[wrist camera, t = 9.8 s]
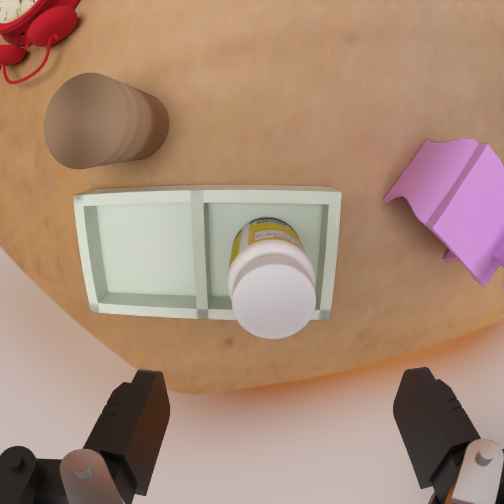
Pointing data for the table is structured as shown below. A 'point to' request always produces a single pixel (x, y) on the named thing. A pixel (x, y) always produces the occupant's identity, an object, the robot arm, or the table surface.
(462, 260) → the toy chair
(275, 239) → the supplement bottle
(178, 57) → the table surface
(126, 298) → the slot rack
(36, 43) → the alarm clock
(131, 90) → the walnut dowel
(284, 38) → the table surface
